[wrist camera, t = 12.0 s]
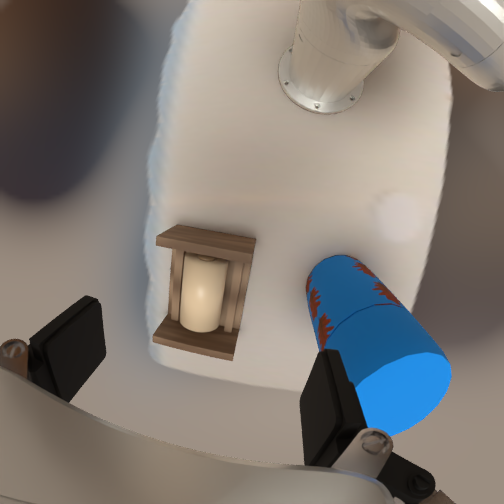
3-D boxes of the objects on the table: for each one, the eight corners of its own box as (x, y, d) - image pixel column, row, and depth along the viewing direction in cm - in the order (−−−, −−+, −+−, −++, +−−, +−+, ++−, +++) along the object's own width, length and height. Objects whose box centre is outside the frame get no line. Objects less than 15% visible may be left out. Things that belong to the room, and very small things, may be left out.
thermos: (381, 267, 40) (473, 359, 16) (352, 324, 43) (405, 441, 19) (320, 244, 40) (383, 338, 16) (293, 306, 42) (311, 436, 18)
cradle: (177, 224, 40) (156, 236, 32) (255, 239, 40) (252, 254, 32) (169, 316, 45) (152, 341, 37) (238, 332, 44) (232, 361, 37)
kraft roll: (192, 246, 40) (178, 257, 34) (232, 254, 40) (224, 267, 34) (186, 309, 43) (173, 328, 37) (222, 318, 43) (214, 338, 37)
